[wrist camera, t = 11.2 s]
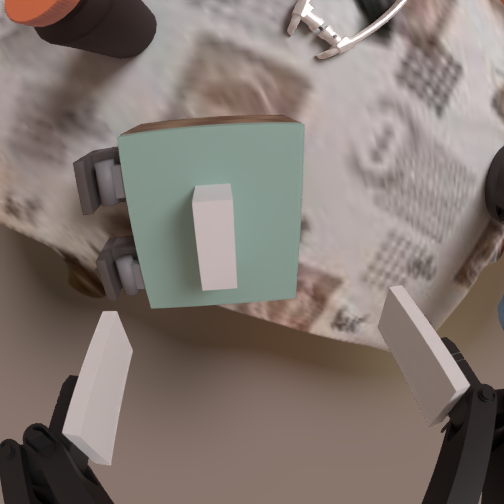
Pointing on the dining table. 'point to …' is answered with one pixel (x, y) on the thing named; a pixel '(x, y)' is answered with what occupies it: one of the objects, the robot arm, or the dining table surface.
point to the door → (210, 211)
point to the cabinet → (92, 198)
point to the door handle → (337, 43)
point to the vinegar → (88, 24)
